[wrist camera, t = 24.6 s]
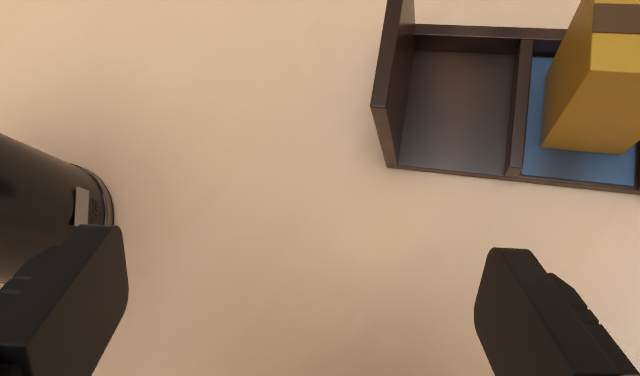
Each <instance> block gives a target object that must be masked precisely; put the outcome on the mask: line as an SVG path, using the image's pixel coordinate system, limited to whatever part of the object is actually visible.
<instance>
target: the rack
mask: <svg viewBox="0 0 640 376" xmlns="http://www.w3.org/2000/svg"><path fill="white" fill-rule="evenodd" d="M566 32H567V29H545V28H517V27H489V26H460V25H432V24H415V14H414V0H387V6H386V12H385V18H384V24H383V30H382V36H381V43H380V49H379V55H378V61H377V67H376V73H375V79H374V85H373V91H372V98H371V104H370V107H371V111H372V114H373V118H374V122H375V125H376V129H377V133H378V136H379V140H380V144H381V147H382V151H383V155H384V158H385V162H386V166H387V167H390V168H399V169H409V170H418V171H427V172H436V173H446V174H455V175H464V176H473V177H483V178H492V179H501V180H510V181H520V182H529V183H538V184H547V185H556V186H566V187H575V188H584V189H593V190H603V191H612V192H621V193H630V194H640V140H639V141H638V142H637V143H636V144H634V145H633V146H632V147H631V148H630V149H629V150H627V151H626V152H625V153H624V154H623V155H615V154H605V153H594V152H583V151H572V150H562V149H551V148H541V147H540V138H541V126H542V114H543V102H544V89H545V77H546V73H547V71H548V69H549V67H550V65H551V63H552V61H553V59H554V57H555V54H556V52H557V50H558V48H559V46H560V44H561V42H562V40H563V38H564V36H565V34H566Z"/></svg>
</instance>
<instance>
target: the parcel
mask: <svg viewBox="0 0 640 376" xmlns="http://www.w3.org/2000/svg"><path fill="white" fill-rule="evenodd" d="M639 140H640V0H581V2H580V4H579V7H578V9H577V11H576V13H575V15H574V17H573V19H572V21H571V23H570V25H569V27H568V29H567V32H566V34H565V36H564V38H563V40H562V42H561V44H560V46H559V48H558V50H557V52H556V54H555V57H554V59H553V61H552V63H551V65H550V67H549V69H548V71H547V73H546V77H545V89H544V102H543V114H542V126H541V138H540V147H541V148H551V149H562V150H572V151H583V152H594V153H605V154H615V155H623V154H624V153H625V152H626V151H627V150H629V149H630V148H631V147H632V146H633V145H634V144H636V143H637V142H638V141H639Z"/></svg>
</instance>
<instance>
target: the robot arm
mask: <svg viewBox="0 0 640 376" xmlns="http://www.w3.org/2000/svg"><path fill="white" fill-rule="evenodd" d="M112 219H113V210H112V203H111V199H110V196H109V193H108V191H107V189H106V187H105V185H104V184H103V182H102V181H101V180H100V179H99V178H98V177H97V176H96V175H95V174H93V173H92V172H90V171H88V170H86V169H84V168H82V167H79V166H77V165H74V164H69V163H67V162H64V161H62V160H60V159H58V158H55V157H53V156H51V155H49V154H47V153H44V152H42V151H40V150H38V149H35V148H33V147H31V146H28V145H26V144H24V143H21V142H19V141H17V140H15V139H12V138H10V137H8V136H5V135H3V134H1V133H0V283H5V285H4V286H3V287H2V288H1V289H0V376H91V375H92V373H93V371H94V370H95V368H96V366H97V364H98V362H99V360H100V358H101V356H102V354H103V353H104V351H105V349H106V347H107V345H108V343H109V341H110V339H111V337H112V335H113V334H114V332H115V330H116V328H117V326H118V324H119V322H120V320H121V318H122V317H123V314H124V312H125V309H126V306H127V301H128V292H129V286H128V277H127V269H126V260H125V252H124V244H123V236H122V232H121V229H120V228H119V227H118V226H112ZM474 323H475V329H476V332H477V335H478V337H479V339H480V342H481V344H482V346H483V349H484V351H485V353H486V356H487V358H488V360H489V363H490V365H491V367H492V370H493V372H494V374H495V376H640V373H639V372H638V371H637V369H636V368H635V367H634V366H633V364H632V363H631V362H630V360H629V359H628V358H627V357H626V355H625V354H624V353H623V351H622V350H621V349H620V348H619V346H618V345H617V344H616V342H615V341H614V340H613V339H612V337H611V336H610V335H609V333H608V332H607V331H606V329H605V328H604V327H603V326H602V325H601V324H599V320H598V319H597V318H596V317H595V315H594V314H593V313H592V311H591V310H588V309H587V305H586V304H585V302H584V301H583V300H582V298H581V297H580V296H579V295H578V293H577V292H576V291H575V289H574V288H572V287H571V286H570V285H568V284H567V283H565V282H564V281H563V280H561V279H560V278H559V277H557V276H556V275H555V274H553V273H546V271H545V270H544V268H543V267H542V266H541V264H540V263H539V262H538V260H537V259H536V257H535V256H534V255H533V253H532V252H531V251H530V250H528V249H514V248H496V247H495V248H492V249H491V250H490V251H489V253H488V255H487V259H486V263H485V267H484V270H483V274H482V278H481V282H480V286H479V290H478V294H477V297H476V301H475V306H474Z"/></svg>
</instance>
